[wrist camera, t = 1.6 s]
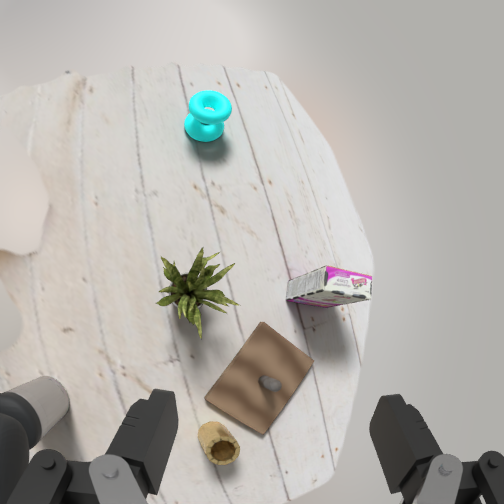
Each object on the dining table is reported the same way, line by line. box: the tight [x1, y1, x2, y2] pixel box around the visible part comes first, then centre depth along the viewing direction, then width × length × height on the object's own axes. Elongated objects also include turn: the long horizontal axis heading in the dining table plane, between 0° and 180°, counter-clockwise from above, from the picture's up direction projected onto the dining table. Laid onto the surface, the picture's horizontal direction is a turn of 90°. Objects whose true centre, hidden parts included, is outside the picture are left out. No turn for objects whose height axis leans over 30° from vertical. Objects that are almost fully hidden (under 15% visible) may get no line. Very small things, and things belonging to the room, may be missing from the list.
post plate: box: [204, 322, 314, 434], centre depth 54 cm, size 20×15×9 cm
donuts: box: [184, 91, 232, 142], centre depth 64 cm, size 10×10×10 cm
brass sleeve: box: [198, 422, 240, 465], centre depth 47 cm, size 6×6×9 cm
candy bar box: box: [286, 265, 372, 308], centre depth 59 cm, size 11×5×16 cm, turn 82°
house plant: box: [156, 248, 239, 339], centre depth 50 cm, size 14×14×16 cm
